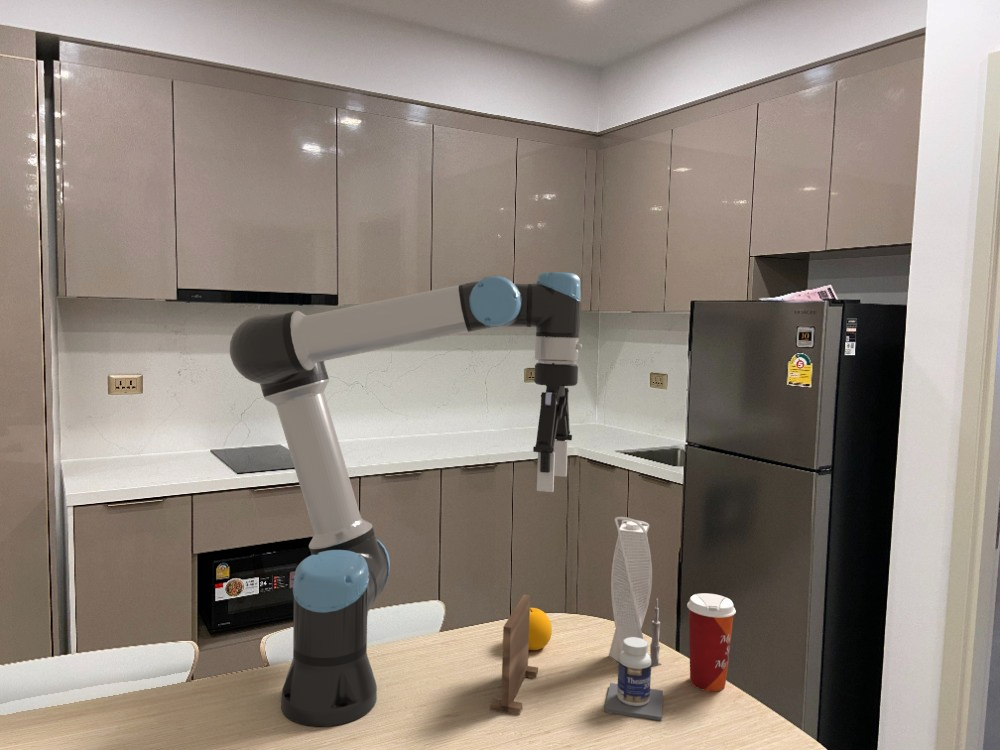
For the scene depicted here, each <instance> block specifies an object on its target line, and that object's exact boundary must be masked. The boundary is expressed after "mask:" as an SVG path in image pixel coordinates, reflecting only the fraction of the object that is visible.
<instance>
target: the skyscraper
mask: <svg viewBox="0 0 1000 750" xmlns="http://www.w3.org/2000/svg"><path fill="white" fill-rule="evenodd" d="M613 520H614V523H615V526H616V529H617V533H618V534H617V535H618V536H617V539H616V542H615V543H616V544H615V546H614V547H615V548H614V552H613V559H612V565H611V577H610V578H611V579H610V589H611V591H610V592H611V593H610V594H611V605H612V612H613V613H612V614H613V621H614V627H615V630H614V633H613V638H612V642H611V644H610V648H609V651H608V658H610V657H611V658H610V659H612V660H613V661H614V660H615V661H614V662H616V663H617V664H618V659H619V655H620V653H621V652H622V651H624V650H623V641H624V639H626V638H629V637H636V638H641V639H644V636H643V632H642V628H643V624H644V621H645V619H646V614H647V611H648V607H649V604H650V599H651V593H652V585H653V565H652V564H653V563H652V555H651V549H650V543H649V538H648V532H649V528H650V524H649V523H648V522H646V521H643V520H640V519H639V520H638V519H634V518H631V517H626V516H616V517H615V518H614V519H613ZM618 520H620V521H621V524H620V525H619V521H618ZM658 606H659V598H656V599H655V607H654V618H653V619H654V620H652V621H651V642H650V645H649V646H650V649H649V650H650V651H649V652H650V654H649V656H650V658H651V668H654V667H658V666H662V663H660V662H659V659H660V658H659V657H660V652H661V651H660V650H661V649H660V648H661V645H660V633H661V632H660V629H661V622H660V620H659V612H660V609H659V607H658Z"/></svg>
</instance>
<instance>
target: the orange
mask: <svg viewBox="0 0 1000 750" xmlns="http://www.w3.org/2000/svg"><path fill="white" fill-rule="evenodd" d="M552 635H553V633H552V623H551V620H550V618H549V616H548V615H547V614H546V613H545V612H544V611H543V610H541V609H539V608H536V607H530V618H529V648H528V651H537V650H541V649H543V648H545V647H546V646H547V645H548V644H549V642H550V641H551V638H552Z"/></svg>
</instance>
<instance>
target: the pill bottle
mask: <svg viewBox="0 0 1000 750" xmlns="http://www.w3.org/2000/svg"><path fill="white" fill-rule="evenodd" d="M648 643H649V642H648V641H647V640H646V639H644V638H643V639H641V638H636V637H629V638H626V639H624V641H623V650H624V651H622V652H621V653H620V655H619V659H618V663H617V664H618V665H617V684H618V685H617V697H618V699H619V700H620V701H621V702H623V703H625V704H627V705H631V706H642V705H645V704H647V703H648V702H649V699H650V689H651V679H652V667H651V658H650V654H649V653H648V647H649V645H648Z"/></svg>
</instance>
